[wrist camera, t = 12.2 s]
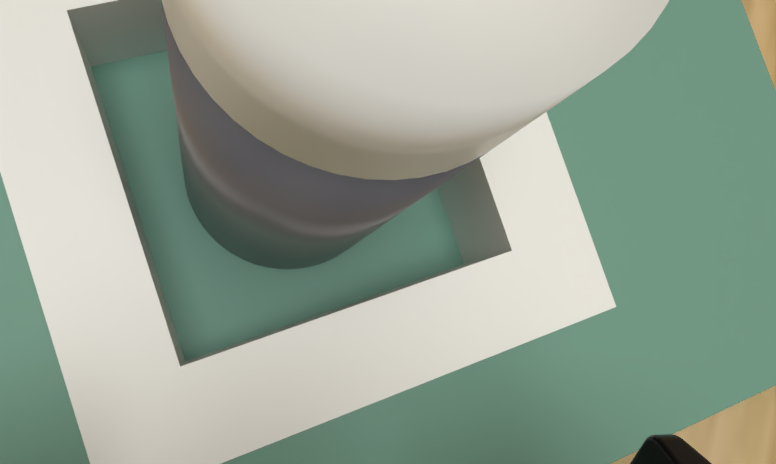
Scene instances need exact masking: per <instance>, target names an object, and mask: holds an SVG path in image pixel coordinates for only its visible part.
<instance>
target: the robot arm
mask: <svg viewBox="0 0 776 464" xmlns="http://www.w3.org/2000/svg"><path fill="white" fill-rule="evenodd" d="M631 464H711V463H710V462H709V461H708V460H707V459H706V458H704V457H703V456H702V455H701V454H700V453H698V452H697V451H696V450H695V449H694V448H692V447H691V446H690V445H689V444H688V443H686V442H685V441H684V440H683V439H681V438H680V437H678V436H676V435H671V434H663V435H651V436H649V437H647V438H646V440H645V441H644V443H643V444H642V446H641V447H640V449H639V451H638V452H637V454H636V456H635V457H634V459H633V460H632V462H631Z"/></svg>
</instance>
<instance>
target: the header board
mask: <svg viewBox="0 0 776 464" xmlns="http://www.w3.org/2000/svg"><path fill="white" fill-rule="evenodd" d="M775 385H776V91H775V88H774V85H773V83H772V80H771V78H770V75H769V72H768V70H767V67H766V64H765V62H764V59H763V57H762V54H761V51H760V49H759V46H758V43H757V41H756V38H755V36H754V33H753V30H752V28H751V25H750V22H749V20H748V17H747V15H746V12H745V9H744V7H743V4H742V1H741V0H669V2H668V4H667V5H666V7H665V8H664V10H663V11H662V13H661V14H660V16H659V17H658V19H657V20H656V22H655V23H654V25H653V26H652V28H651V29H650V30H649V31H648V32H647V34H646V35H645V36H644V37H643V38H642V39H641V40H640V41H639V42H638V43H637V44H636V45H635V47H634V48H633V49H632V50H631V51H630V52H629V53H627V54H626V55H625V56H624V57H622V58H621V59H620V60H619V61H617V62H616V63H615V64H613V65H612V66H611V67H610V68H608V69H607V70H606V71H604V72H603V73H602V74H600V75H599V76H597V77H596V78H594V79H593V80H591V81H590V82H589V83H587V84H586V85H584V86H583V87H581V88H580V89H578V90H577V91H576V92H574V93H573V94H571V95H570V96H568V97H567V98H566V99H564V100H563V101H561V102H560V103H558V104H557V105H555V106H554V107H553V108H551V109H550V110H548V111H547V112H545V113H544V114H542V115H541V116H540V117H538V118H537V119H535V120H534V121H532V122H531V123H529V124H528V125H527V126H525V127H524V128H522V129H521V130H519V131H518V132H516V133H515V134H514V135H512V136H511V137H509V138H508V139H506V140H505V141H503V142H502V143H501V144H499V145H498V146H496V147H495V148H493V149H492V150H490V151H489V152H488V153H486V154H485V155H483V156H482V157H480V158H479V159H477V160H476V161H475V162H473V163H472V164H470V165H469V166H467V167H466V168H465V169H463V170H462V171H460V172H459V173H457V174H456V175H454V176H453V177H452V178H450V179H449V180H447V181H446V182H444V183H443V184H441V185H440V186H439V187H437V188H436V189H434V190H433V191H431V192H430V193H428V194H427V195H426V196H424V197H423V198H421V199H420V200H418V201H417V202H415V203H414V204H413V205H411V206H410V207H408V208H407V209H405V210H404V211H402V212H401V213H400V214H398V215H397V216H395V217H394V218H392V219H391V220H389V221H388V222H387V223H385V224H384V225H382V226H381V227H379V228H378V229H376V230H375V231H374V232H372V233H371V234H369V235H368V236H366V237H365V238H364V239H362V240H361V241H359V242H358V243H356V244H355V245H353V246H352V247H351V248H349V249H348V250H346V251H345V252H343V253H342V254H340V255H338V256H337V257H335V258H333V259H331V260H329V261H326V262H324V263H322V264H319V265H315V266H311V267H307V268H300V269H275V268H267V267H264V266H260V265H256V264H253V263H251V262H248V261H246V260H243V259H241V258H239V257H238V256H236V255H234V254H232V253H230V252H229V251H228V250H226V249H225V248H224V247H222V246H221V245H220V244H218V243H217V242H216V241H215V240H214V239H213V238H212V237H211V236H210V235H209V234H208V232H207V231H206V230H205V228H204V227H203V226H202V225H201V223H200V222H199V220H198V218H197V216H196V215H195V213H194V211H193V209H192V206H191V204H190V201H189V199H188V195H187V191H186V187H185V181H184V173H183V166H182V158H181V150H180V143H179V135H178V127H177V120H176V112H175V104H174V97H173V89H172V82H171V74H170V66H169V59H168V51H167V43H166V36H165V28H164V21H163V13H162V5H161V0H0V464H610V463H612V462H614V461H616V460H618V459H621V458H623V457H625V456H627V455H629V454H631V453H633V452H635V451H637V450H639V449H640V447H641V446H642V444H643V443H644V441H645V440H646V438H647V437H649V436H651V435H663V434H673V433H675V432H678V431H680V430H682V429H684V428H686V427H688V426H690V425H692V424H695V423H697V422H699V421H701V420H703V419H705V418H707V417H709V416H711V415H714V414H716V413H718V412H720V411H722V410H724V409H726V408H728V407H730V406H733V405H735V404H737V403H739V402H741V401H743V400H745V399H747V398H750V397H752V396H754V395H756V394H758V393H760V392H762V391H764V390H766V389H769V388H771V387H773V386H775Z"/></svg>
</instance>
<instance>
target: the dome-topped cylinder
mask: <svg viewBox="0 0 776 464" xmlns="http://www.w3.org/2000/svg"><path fill="white" fill-rule="evenodd" d="M668 2H669V0H161V5H162V13H163V21H164V28H165V36H166V43H167V51H168V59H169V66H170V74H171V82H172V89H173V97H174V104H175V112H176V120H177V127H178V135H179V143H180V150H181V158H182V166H183V173H184V181H185V187H186V191H187V195H188V199H189V201H190V204H191V206H192V209H193V211H194V213H195V215H196V216H197V218H198V220H199V222H200V223H201V225H202V226H203V227H204V228H205V230H206V231H207V232H208V234H209V235H210V236H211V237H212V238H213V239H214V240H215V241H216V242H217V243H218V244H220V245H221V246H222V247H224V248H225V249H226V250H228V251H229V252H230V253H232V254H234V255H236V256H238V257H239V258H241V259H243V260H246V261H248V262H251V263H253V264H256V265H260V266H264V267H267V268H275V269H300V268H307V267H311V266H315V265H319V264H322V263H324V262H326V261H329V260H331V259H333V258H335V257H337V256H338V255H340V254H342V253H343V252H345V251H346V250H348V249H349V248H351V247H352V246H353V245H355V244H356V243H358V242H359V241H361V240H362V239H364V238H365V237H366V236H368V235H369V234H371V233H372V232H374V231H375V230H376V229H378V228H379V227H381V226H382V225H384V224H385V223H387V222H388V221H389V220H391V219H392V218H394V217H395V216H397V215H398V214H400V213H401V212H402V211H404V210H405V209H407V208H408V207H410V206H411V205H413V204H414V203H415V202H417V201H418V200H420V199H421V198H423V197H424V196H426V195H427V194H428V193H430V192H431V191H433V190H434V189H436V188H437V187H439V186H440V185H441V184H443V183H444V182H446V181H447V180H449V179H450V178H452V177H453V176H454V175H456V174H457V173H459V172H460V171H462V170H463V169H465V168H466V167H467V166H469V165H470V164H472V163H473V162H475V161H476V160H477V159H479V158H480V157H482V156H483V155H485V154H486V153H488V152H489V151H490V150H492V149H493V148H495V147H496V146H498V145H499V144H501V143H502V142H503V141H505V140H506V139H508V138H509V137H511V136H512V135H514V134H515V133H516V132H518V131H519V130H521V129H522V128H524V127H525V126H527V125H528V124H529V123H531V122H532V121H534V120H535V119H537V118H538V117H540V116H541V115H542V114H544V113H545V112H547V111H548V110H550V109H551V108H553V107H554V106H555V105H557V104H558V103H560V102H561V101H563V100H564V99H566V98H567V97H568V96H570V95H571V94H573V93H574V92H576V91H577V90H578V89H580V88H581V87H583V86H584V85H586V84H587V83H589V82H590V81H591V80H593V79H594V78H596V77H597V76H599V75H600V74H602V73H603V72H604V71H606V70H607V69H608V68H610V67H611V66H612V65H613V64H615V63H616V62H617V61H619V60H620V59H621V58H622V57H624V56H625V55H626V54H627V53H629V52H630V51H631V50H632V49H633V48H634V47H635V45H636V44H637V43H638V42H639V41H640V40H641V39H642V38H643V37H644V36H645V35H646V34H647V32H648V31H649V30H650V29H651V28H652V26H653V25H654V23H655V22H656V20H657V19H658V17H659V16H660V14H661V13H662V11H663V10H664V8H665V7H666V5H667V4H668Z"/></svg>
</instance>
